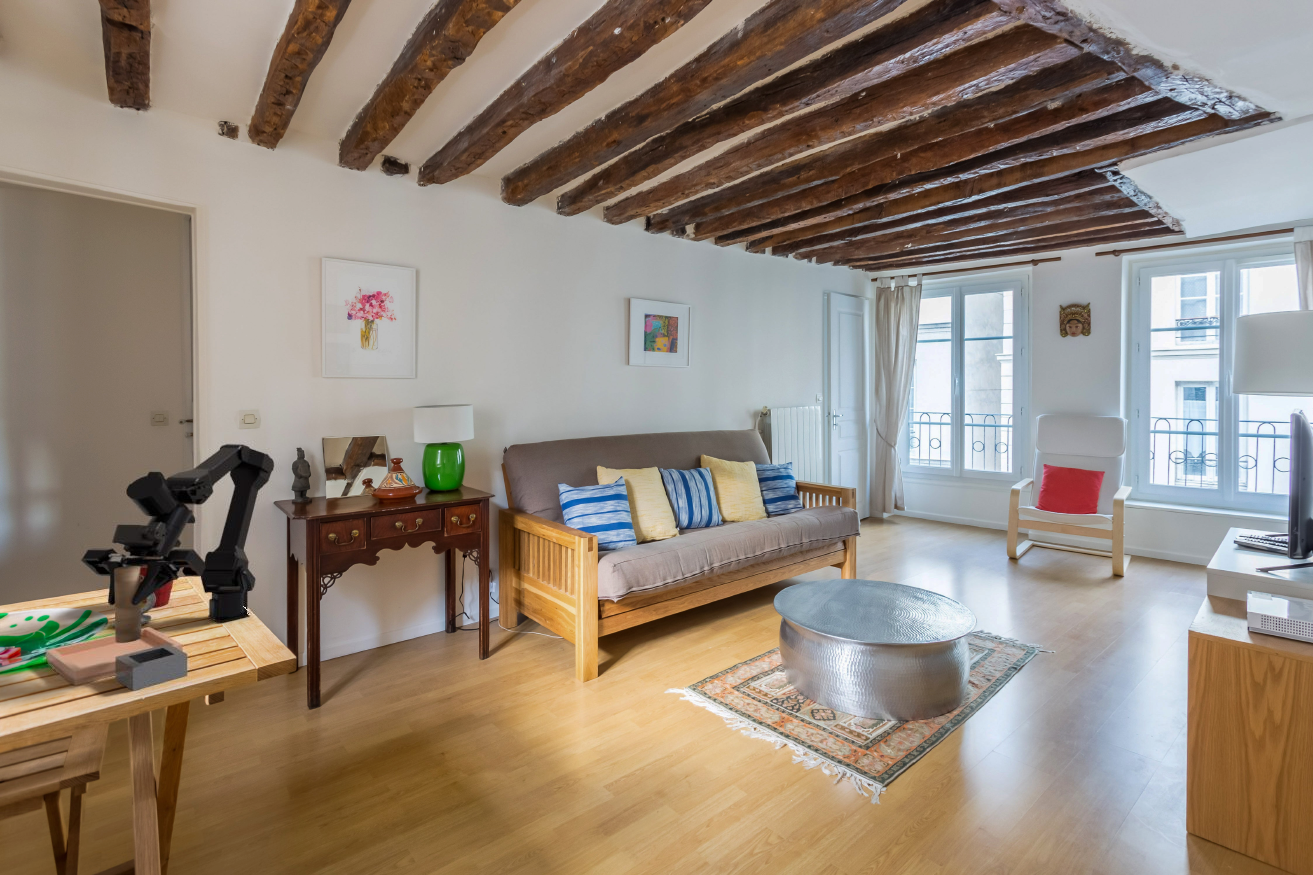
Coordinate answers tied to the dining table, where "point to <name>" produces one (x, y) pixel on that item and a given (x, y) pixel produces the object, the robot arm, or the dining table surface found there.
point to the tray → (100, 655)
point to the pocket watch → (146, 607)
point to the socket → (150, 666)
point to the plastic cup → (159, 591)
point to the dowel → (127, 604)
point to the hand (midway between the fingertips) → (122, 604)
